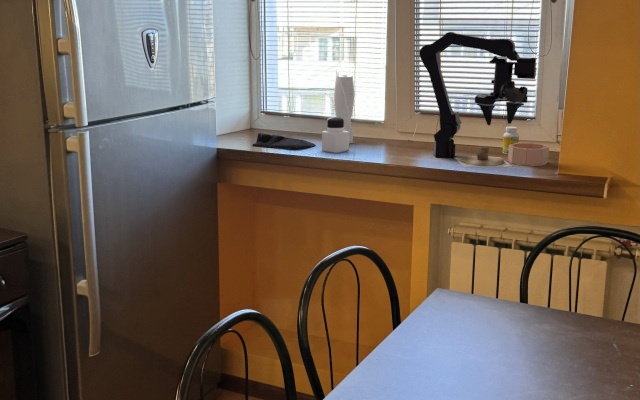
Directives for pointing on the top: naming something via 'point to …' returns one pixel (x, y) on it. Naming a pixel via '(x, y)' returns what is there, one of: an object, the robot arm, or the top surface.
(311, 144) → the crumpled black cloth
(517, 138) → the supplement bottle
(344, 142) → the medicine bottle
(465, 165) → the mat
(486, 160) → the lid
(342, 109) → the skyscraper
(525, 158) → the bowl
